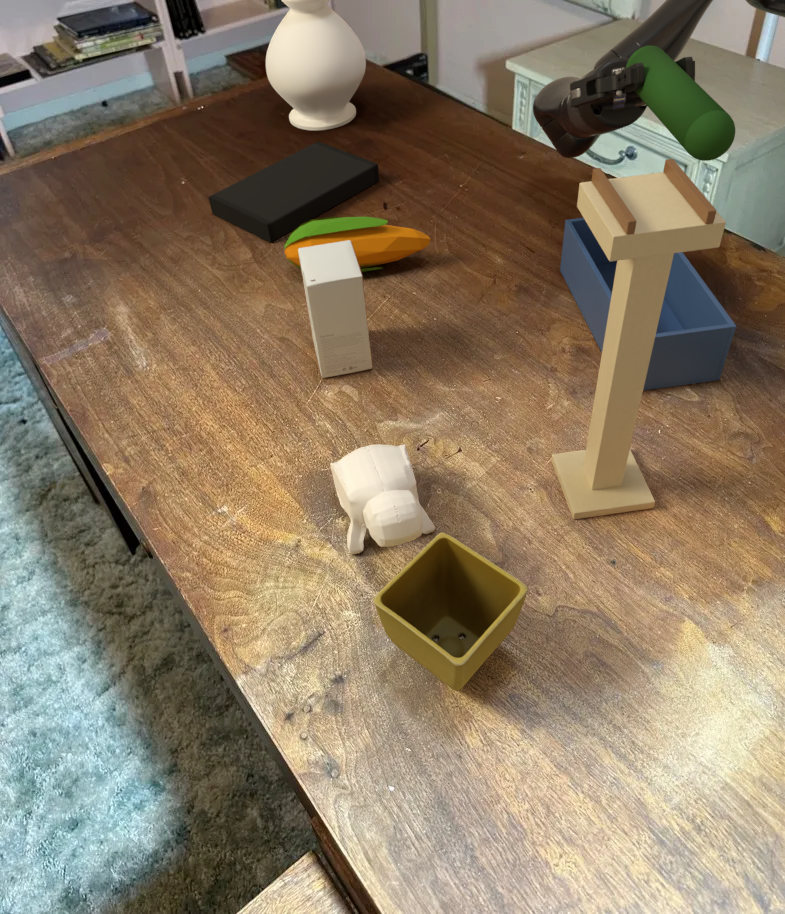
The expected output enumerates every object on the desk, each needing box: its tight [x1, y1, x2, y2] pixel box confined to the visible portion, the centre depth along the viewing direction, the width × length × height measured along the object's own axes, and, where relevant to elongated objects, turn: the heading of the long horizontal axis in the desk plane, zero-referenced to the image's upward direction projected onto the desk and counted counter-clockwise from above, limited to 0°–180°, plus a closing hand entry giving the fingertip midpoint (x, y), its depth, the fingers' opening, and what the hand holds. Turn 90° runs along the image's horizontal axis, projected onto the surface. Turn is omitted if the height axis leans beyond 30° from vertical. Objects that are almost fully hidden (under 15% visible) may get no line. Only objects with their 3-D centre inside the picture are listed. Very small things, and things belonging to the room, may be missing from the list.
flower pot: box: [373, 531, 529, 692], centre depth 62 cm, size 9×9×9 cm
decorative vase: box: [265, 0, 367, 131], centre depth 133 cm, size 18×18×25 cm
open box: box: [559, 217, 737, 392], centre depth 92 cm, size 11×25×8 cm, turn 7°
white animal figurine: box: [330, 443, 436, 555], centre depth 72 cm, size 9×8×15 cm
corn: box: [283, 216, 431, 273], centre depth 104 cm, size 7×8×20 cm
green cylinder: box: [626, 46, 736, 162], centre depth 75 cm, size 20×4×4 cm, turn 7°
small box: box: [298, 240, 374, 379], centre depth 89 cm, size 8×6×13 cm
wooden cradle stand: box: [550, 158, 727, 520], centre depth 66 cm, size 8×9×31 cm
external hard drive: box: [207, 140, 380, 244], centre depth 121 cm, size 14×23×3 cm, turn 137°
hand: (664, 71), depth 76 cm, fingers closed on green cylinder, 4 cm apart
